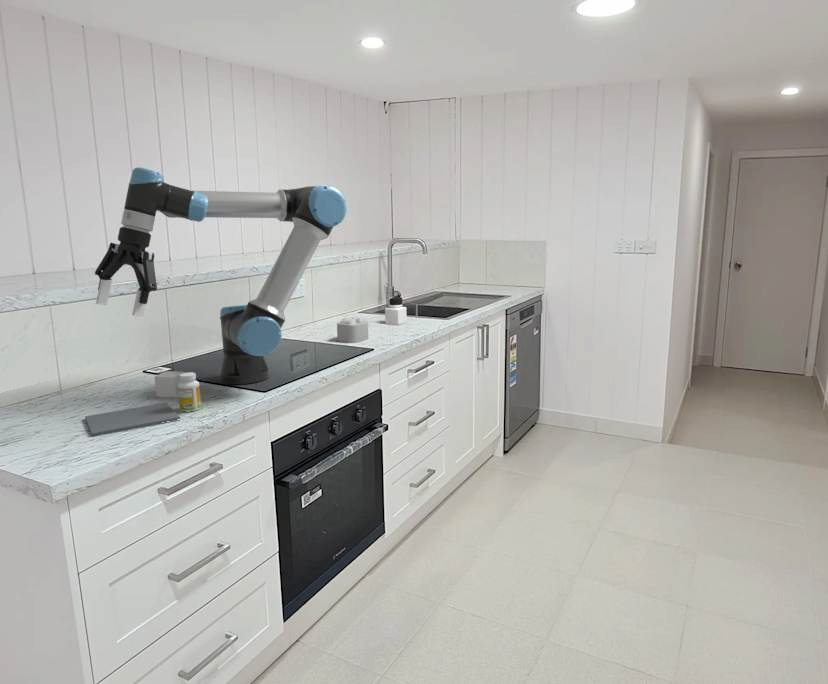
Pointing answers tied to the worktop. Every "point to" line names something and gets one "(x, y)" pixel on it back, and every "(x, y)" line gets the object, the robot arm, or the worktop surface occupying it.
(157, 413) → the rubber mat
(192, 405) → the supplement bottle
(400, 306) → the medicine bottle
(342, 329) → the lumpy-topped squat cylinder
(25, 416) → the worktop surface
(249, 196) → the robot arm
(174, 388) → the grey cube
